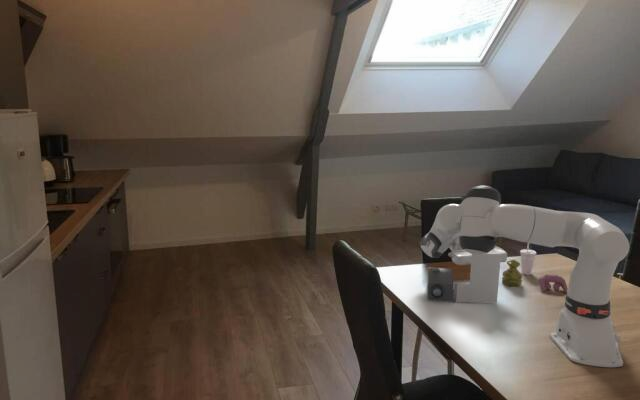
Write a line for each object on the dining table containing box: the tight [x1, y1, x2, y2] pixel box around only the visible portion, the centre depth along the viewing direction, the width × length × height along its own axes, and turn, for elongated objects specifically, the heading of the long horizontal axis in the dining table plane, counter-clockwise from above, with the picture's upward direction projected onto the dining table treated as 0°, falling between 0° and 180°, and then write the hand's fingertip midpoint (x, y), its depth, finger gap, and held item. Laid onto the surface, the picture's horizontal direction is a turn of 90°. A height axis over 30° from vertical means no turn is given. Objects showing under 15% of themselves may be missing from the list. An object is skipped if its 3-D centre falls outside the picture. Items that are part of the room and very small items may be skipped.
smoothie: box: [519, 243, 537, 276], centre depth 208 cm, size 6×6×14 cm
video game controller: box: [538, 274, 568, 294], centre depth 191 cm, size 10×5×7 cm, turn 85°
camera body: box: [426, 266, 455, 303], centre depth 187 cm, size 18×9×8 cm, turn 168°
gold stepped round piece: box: [501, 259, 523, 288], centre depth 196 cm, size 7×7×10 cm
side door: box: [452, 253, 501, 304], centre depth 178 cm, size 16×1×19 cm, turn 86°
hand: (489, 263), depth 177 cm, fingers closed
